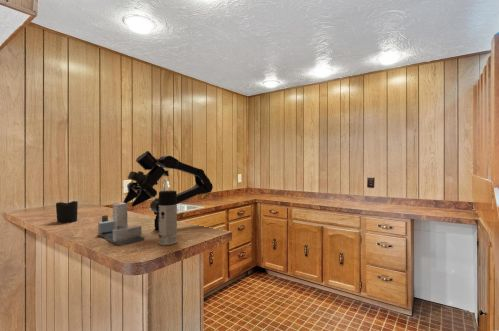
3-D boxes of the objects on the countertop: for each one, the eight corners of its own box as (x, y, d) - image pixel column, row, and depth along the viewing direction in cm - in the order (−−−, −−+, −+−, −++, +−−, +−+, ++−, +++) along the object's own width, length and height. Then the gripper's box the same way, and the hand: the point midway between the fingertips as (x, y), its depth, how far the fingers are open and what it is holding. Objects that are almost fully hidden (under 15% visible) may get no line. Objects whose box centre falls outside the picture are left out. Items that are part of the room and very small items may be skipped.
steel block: (123, 232, 113) (122, 202, 113) (127, 235, 110) (127, 203, 110) (113, 234, 111) (112, 203, 110) (117, 237, 107) (116, 204, 107)
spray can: (161, 240, 105) (160, 190, 105) (178, 240, 106) (178, 190, 105) (156, 246, 98) (156, 192, 98) (175, 245, 99) (174, 192, 99)
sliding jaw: (92, 228, 119) (91, 217, 119) (115, 224, 126) (115, 213, 126) (100, 233, 112) (100, 220, 112) (125, 228, 119) (124, 217, 119)
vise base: (97, 234, 114) (97, 223, 114) (122, 230, 121) (121, 219, 121) (118, 245, 99) (118, 232, 99) (144, 239, 106) (144, 227, 106)
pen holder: (68, 223, 134) (67, 204, 134) (51, 223, 136) (51, 203, 135) (82, 219, 144) (81, 201, 144) (66, 219, 145) (66, 201, 145)
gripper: (131, 164, 122) (105, 190, 115) (149, 165, 109) (121, 194, 101) (148, 180, 128) (125, 206, 120) (167, 182, 115) (142, 212, 107)
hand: (127, 204), depth 112 cm, fingers open, 9 cm apart
